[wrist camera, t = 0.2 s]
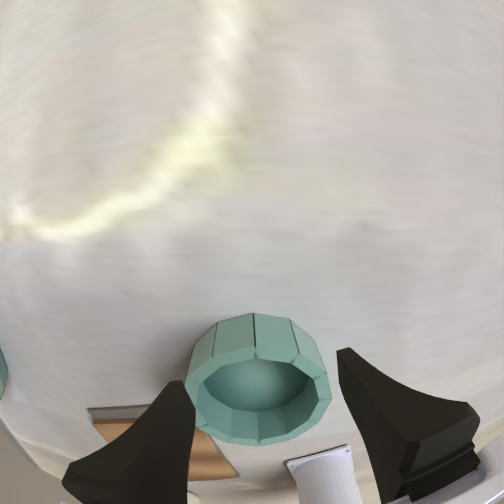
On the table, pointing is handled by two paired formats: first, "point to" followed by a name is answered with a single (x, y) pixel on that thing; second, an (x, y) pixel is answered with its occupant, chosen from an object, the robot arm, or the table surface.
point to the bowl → (257, 381)
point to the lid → (201, 458)
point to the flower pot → (2, 375)
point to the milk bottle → (192, 498)
